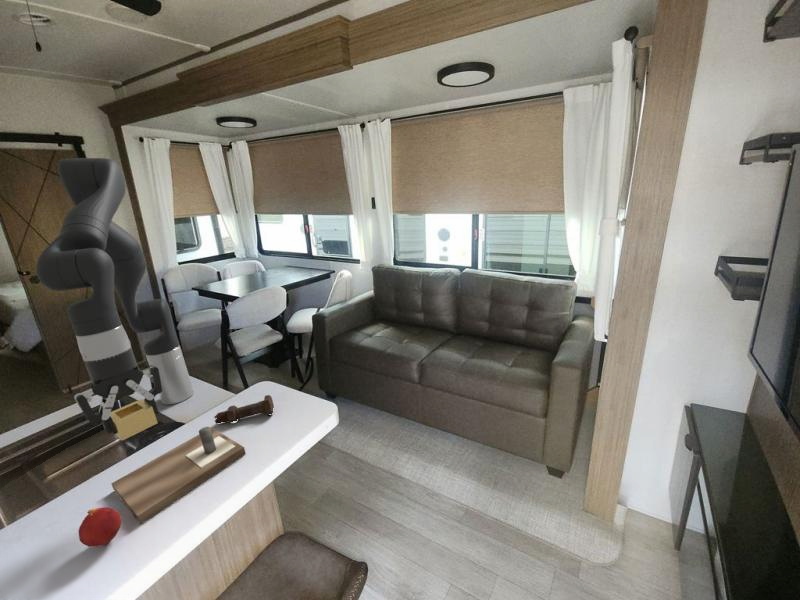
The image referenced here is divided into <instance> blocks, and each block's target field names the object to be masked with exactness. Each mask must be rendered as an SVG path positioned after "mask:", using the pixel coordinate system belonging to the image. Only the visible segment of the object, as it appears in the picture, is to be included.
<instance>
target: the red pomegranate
mask: <svg viewBox="0 0 800 600" xmlns="http://www.w3.org/2000/svg"><path fill="white" fill-rule="evenodd" d="M121 527H122V516H121V514H120V512H119V511H118V510H117V509H114V508H112V507H108V506H103V507H97V508H95V507H93V508H90V509H89V510H88V511H87V515H86V516H85V517H84V518H83V520H82V522H81V523H80V526H79V528H78V539H79V542H81V544H82V545H84V546H86V547H100V546H105V545H106V546H107V545H108V544H109V543H110V542H112V541H113V539H114V538H115V537H116V536H117V534H118V533H119V531H120V529H121Z"/></svg>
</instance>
